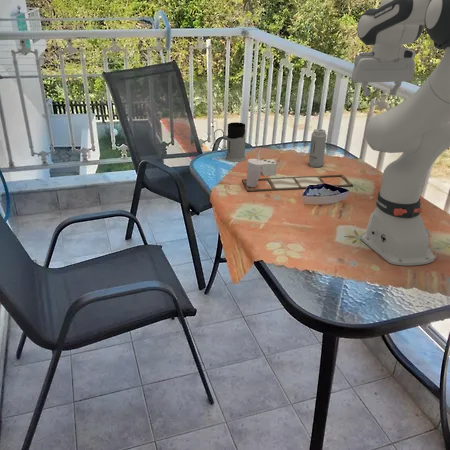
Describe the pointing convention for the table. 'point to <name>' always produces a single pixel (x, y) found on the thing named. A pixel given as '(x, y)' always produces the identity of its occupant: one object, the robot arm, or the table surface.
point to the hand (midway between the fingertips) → (379, 95)
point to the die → (269, 167)
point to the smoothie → (254, 171)
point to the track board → (294, 182)
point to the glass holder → (235, 142)
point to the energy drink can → (317, 148)
